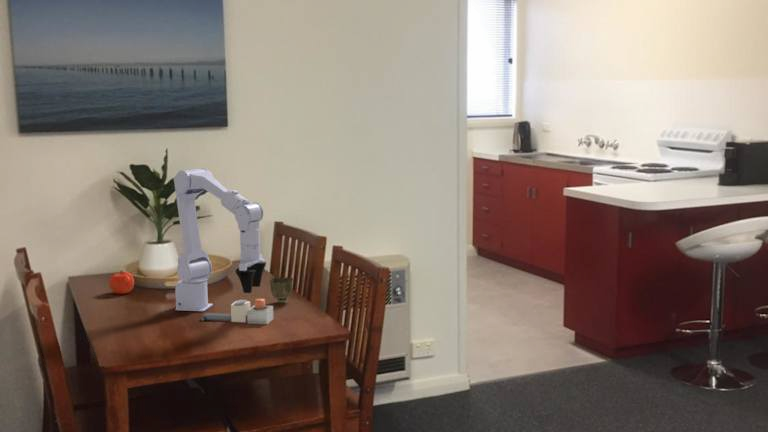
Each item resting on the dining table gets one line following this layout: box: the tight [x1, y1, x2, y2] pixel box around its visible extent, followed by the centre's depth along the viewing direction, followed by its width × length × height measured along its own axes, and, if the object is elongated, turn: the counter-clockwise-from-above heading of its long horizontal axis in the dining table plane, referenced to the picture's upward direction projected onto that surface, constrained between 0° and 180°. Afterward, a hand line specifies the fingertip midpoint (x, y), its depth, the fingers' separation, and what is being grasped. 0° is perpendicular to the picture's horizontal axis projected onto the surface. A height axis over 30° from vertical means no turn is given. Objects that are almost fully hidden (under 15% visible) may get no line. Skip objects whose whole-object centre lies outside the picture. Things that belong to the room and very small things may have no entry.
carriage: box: [230, 299, 251, 323], centre depth 239 cm, size 4×5×6 cm
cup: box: [269, 276, 294, 305], centre depth 258 cm, size 8×7×8 cm
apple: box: [108, 270, 135, 295], centre depth 273 cm, size 8×8×8 cm
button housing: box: [247, 304, 274, 325], centre depth 238 cm, size 6×6×4 cm
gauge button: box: [254, 298, 266, 308], centre depth 238 cm, size 3×3×2 cm
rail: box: [200, 312, 248, 323], centre depth 240 cm, size 14×4×2 cm, turn 80°
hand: (252, 289), depth 237 cm, fingers open, 7 cm apart
